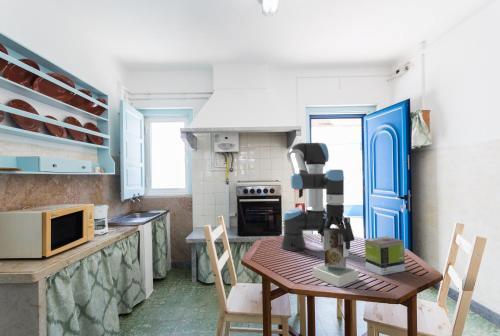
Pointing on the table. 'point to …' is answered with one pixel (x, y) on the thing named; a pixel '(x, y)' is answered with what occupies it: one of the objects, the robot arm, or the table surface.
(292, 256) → the table surface
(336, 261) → the coffee box
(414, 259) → the table surface
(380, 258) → the tea box
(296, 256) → the table surface
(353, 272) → the block
